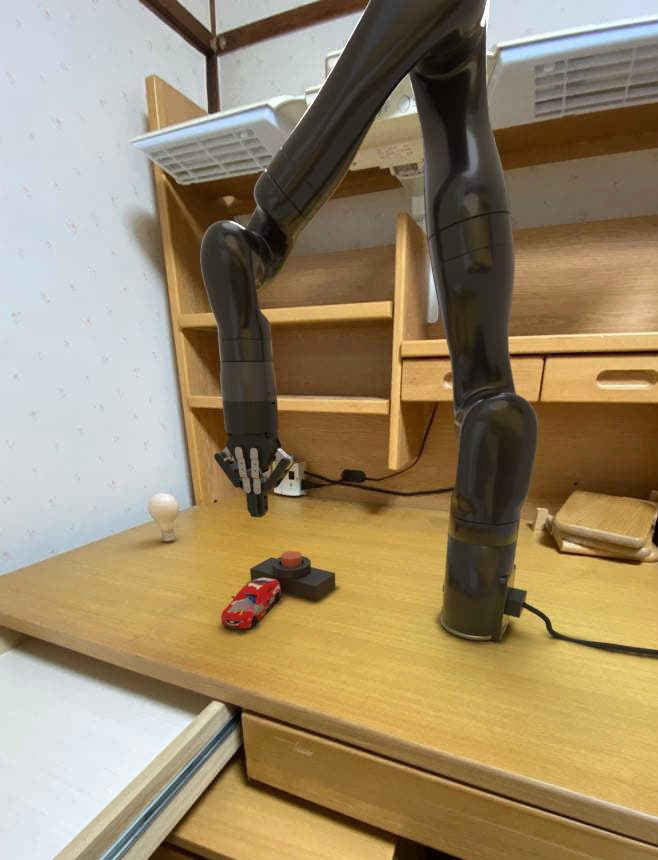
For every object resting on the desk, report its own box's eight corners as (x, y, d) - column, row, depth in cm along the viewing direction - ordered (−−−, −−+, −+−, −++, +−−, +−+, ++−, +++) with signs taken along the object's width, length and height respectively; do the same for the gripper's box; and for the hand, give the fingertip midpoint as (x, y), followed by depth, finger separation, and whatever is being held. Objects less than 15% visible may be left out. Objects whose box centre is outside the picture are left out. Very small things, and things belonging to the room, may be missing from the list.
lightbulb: (175, 547, 99) (168, 497, 95) (147, 545, 100) (139, 496, 96) (188, 537, 105) (182, 490, 101) (163, 535, 105) (155, 489, 102)
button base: (336, 587, 80) (335, 563, 79) (315, 602, 75) (314, 578, 74) (273, 570, 87) (271, 548, 85) (250, 584, 82) (248, 560, 80)
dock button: (306, 562, 80) (305, 553, 80) (293, 570, 77) (293, 560, 77) (289, 558, 82) (289, 549, 81) (277, 565, 79) (276, 556, 78)
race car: (247, 636, 66) (245, 612, 65) (215, 629, 68) (212, 606, 66) (287, 595, 78) (286, 573, 76) (259, 590, 79) (257, 569, 78)
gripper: (193, 397, 63) (207, 518, 69) (277, 399, 58) (284, 528, 64) (226, 394, 69) (236, 504, 75) (304, 396, 65) (308, 513, 71)
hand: (258, 515), depth 70 cm, fingers closed
